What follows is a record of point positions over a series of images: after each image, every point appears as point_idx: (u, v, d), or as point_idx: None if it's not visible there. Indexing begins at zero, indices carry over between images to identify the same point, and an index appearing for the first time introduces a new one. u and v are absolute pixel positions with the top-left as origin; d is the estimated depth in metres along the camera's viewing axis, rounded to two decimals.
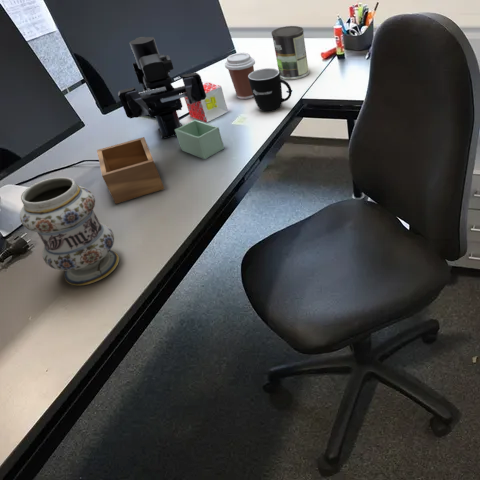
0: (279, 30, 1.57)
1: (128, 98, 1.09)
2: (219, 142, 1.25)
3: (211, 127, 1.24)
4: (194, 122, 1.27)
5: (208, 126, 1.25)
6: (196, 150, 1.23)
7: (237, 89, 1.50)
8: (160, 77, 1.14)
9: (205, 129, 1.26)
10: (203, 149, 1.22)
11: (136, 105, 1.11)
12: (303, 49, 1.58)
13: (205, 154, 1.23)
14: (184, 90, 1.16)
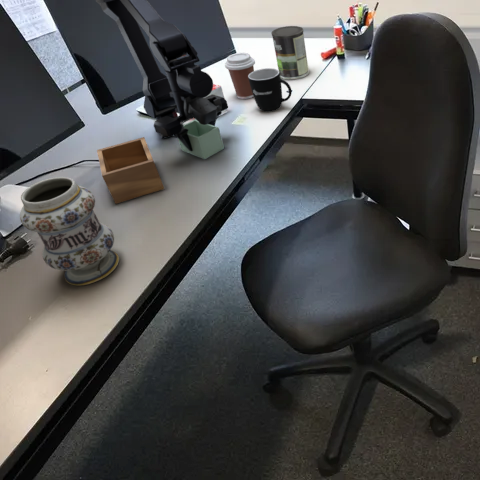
0: (279, 30, 1.57)
1: None
2: (219, 142, 1.25)
3: (211, 127, 1.24)
4: (194, 122, 1.27)
5: (208, 126, 1.25)
6: (196, 150, 1.23)
7: (237, 89, 1.50)
8: None
9: (205, 129, 1.26)
10: (203, 149, 1.22)
11: None
12: (303, 49, 1.58)
13: (205, 154, 1.23)
14: None
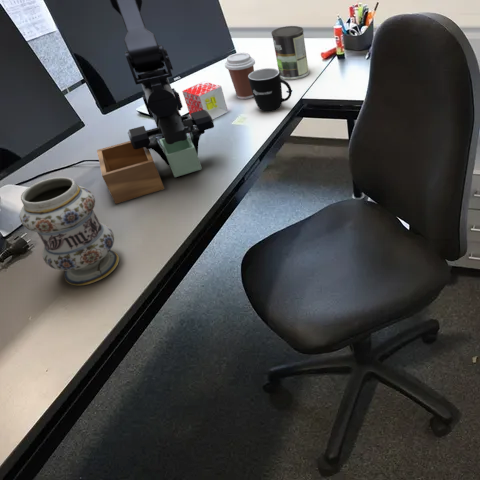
0: (279, 30, 1.57)
1: None
2: (195, 162, 1.16)
3: (190, 145, 1.15)
4: None
5: (189, 143, 1.16)
6: None
7: (237, 89, 1.50)
8: None
9: (189, 145, 1.18)
10: (173, 167, 1.14)
11: None
12: (303, 49, 1.58)
13: (176, 172, 1.15)
14: None
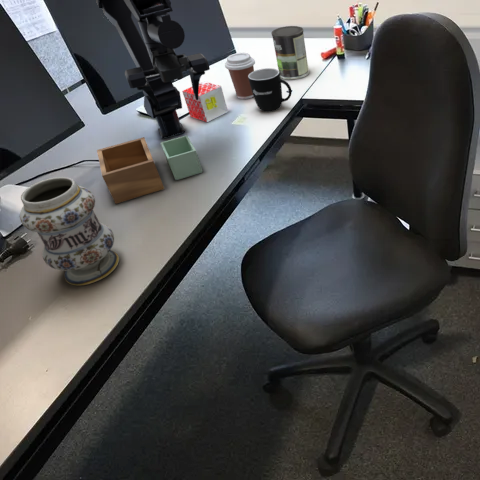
0: (279, 30, 1.57)
1: None
2: (196, 165, 1.16)
3: (191, 148, 1.16)
4: (184, 138, 1.21)
5: (190, 146, 1.17)
6: None
7: (237, 89, 1.50)
8: None
9: (190, 148, 1.19)
10: (174, 170, 1.14)
11: None
12: (303, 49, 1.58)
13: (177, 175, 1.15)
14: None
